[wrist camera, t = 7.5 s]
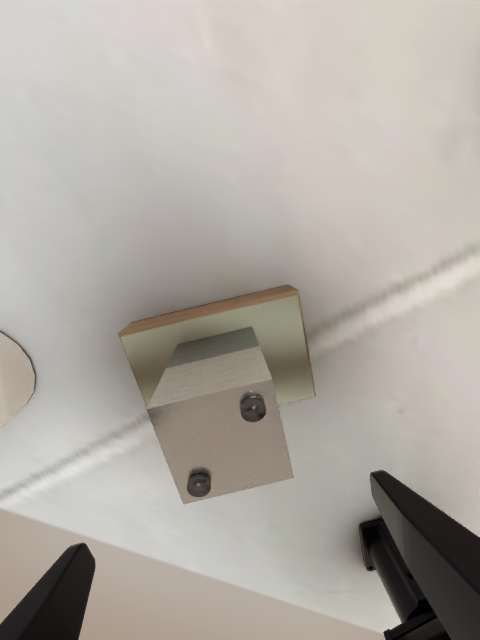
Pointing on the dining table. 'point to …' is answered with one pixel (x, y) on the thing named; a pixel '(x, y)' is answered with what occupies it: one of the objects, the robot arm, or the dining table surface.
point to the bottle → (14, 379)
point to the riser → (220, 317)
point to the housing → (219, 417)
